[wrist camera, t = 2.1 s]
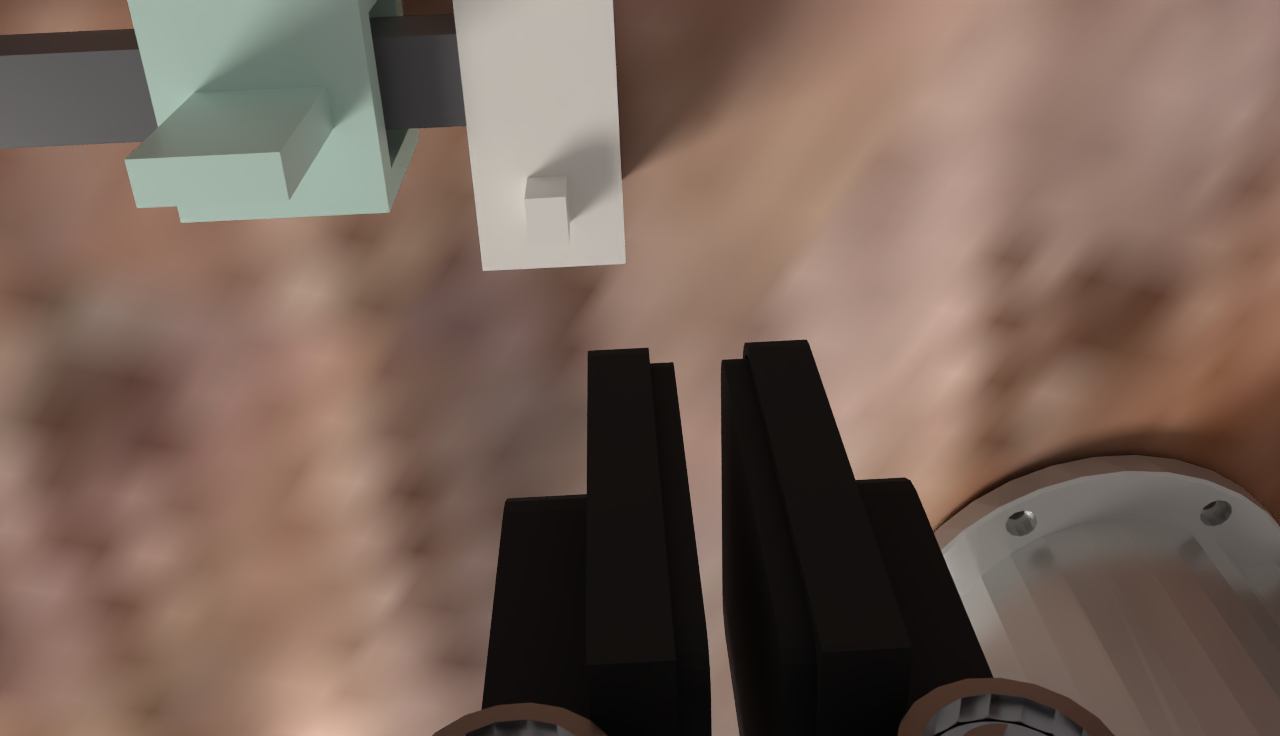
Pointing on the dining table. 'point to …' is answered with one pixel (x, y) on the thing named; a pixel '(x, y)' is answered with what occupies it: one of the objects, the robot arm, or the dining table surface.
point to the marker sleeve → (265, 110)
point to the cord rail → (408, 112)
